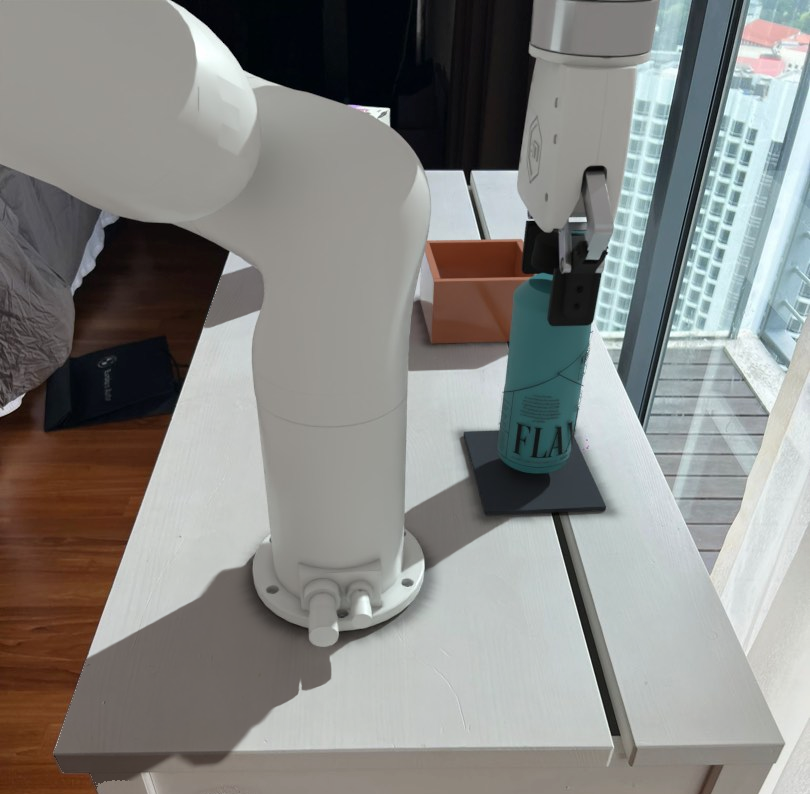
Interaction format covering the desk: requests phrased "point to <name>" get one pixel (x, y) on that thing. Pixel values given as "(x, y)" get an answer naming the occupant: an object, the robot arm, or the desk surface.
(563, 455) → the beverage bottle
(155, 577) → the desk surface
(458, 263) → the holder
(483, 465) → the mat
